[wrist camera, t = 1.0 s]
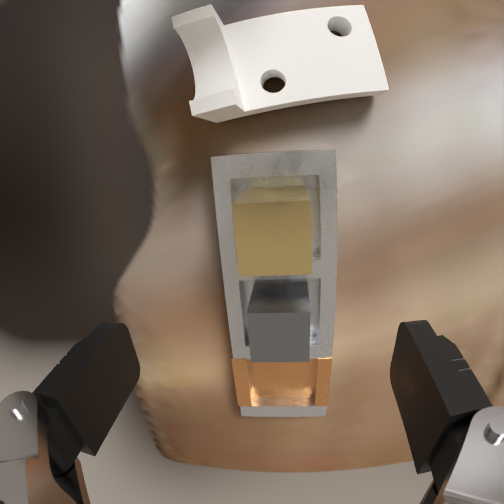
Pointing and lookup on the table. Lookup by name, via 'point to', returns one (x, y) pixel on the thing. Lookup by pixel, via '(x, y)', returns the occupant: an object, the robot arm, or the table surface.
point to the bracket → (279, 59)
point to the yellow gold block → (273, 231)
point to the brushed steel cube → (279, 322)
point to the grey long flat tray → (281, 280)
